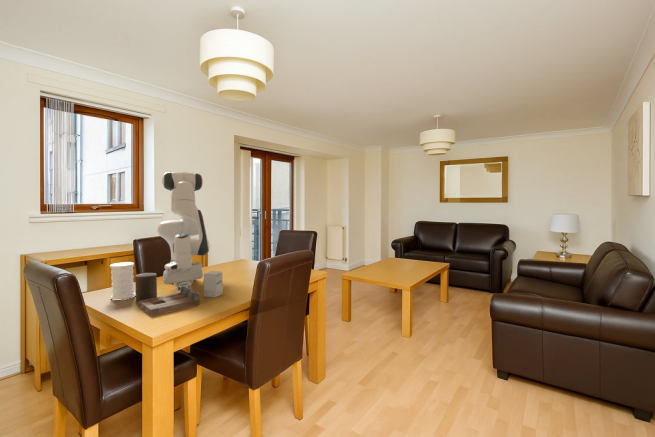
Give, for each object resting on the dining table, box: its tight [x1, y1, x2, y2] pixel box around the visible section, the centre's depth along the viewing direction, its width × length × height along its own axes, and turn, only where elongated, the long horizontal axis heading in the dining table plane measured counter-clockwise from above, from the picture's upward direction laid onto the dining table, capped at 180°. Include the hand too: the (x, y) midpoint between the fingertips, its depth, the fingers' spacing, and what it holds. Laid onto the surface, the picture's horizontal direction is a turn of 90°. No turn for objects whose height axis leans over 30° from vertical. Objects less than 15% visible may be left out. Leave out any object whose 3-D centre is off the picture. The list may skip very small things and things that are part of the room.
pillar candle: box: [134, 271, 158, 304], centre depth 172 cm, size 10×10×15 cm
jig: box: [138, 287, 200, 317], centre depth 163 cm, size 18×22×6 cm
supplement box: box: [203, 270, 224, 298], centre depth 182 cm, size 7×7×13 cm
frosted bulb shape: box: [178, 281, 190, 293], centre depth 180 cm, size 6×6×8 cm
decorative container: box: [109, 261, 136, 300], centre depth 177 cm, size 12×12×18 cm
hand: (183, 289), depth 180 cm, fingers closed on frosted bulb shape, 4 cm apart
